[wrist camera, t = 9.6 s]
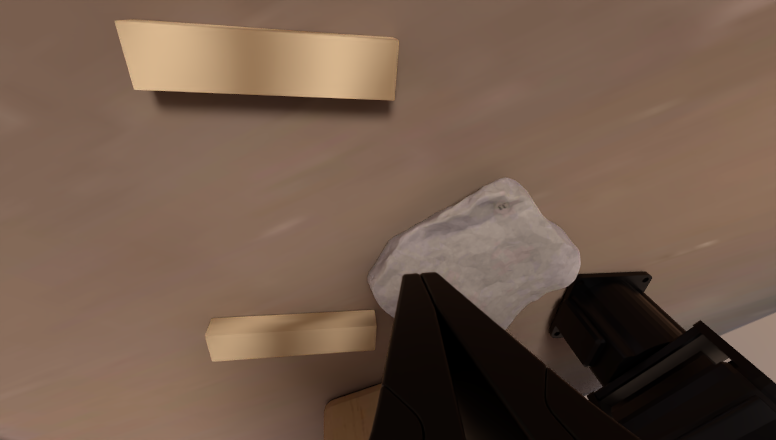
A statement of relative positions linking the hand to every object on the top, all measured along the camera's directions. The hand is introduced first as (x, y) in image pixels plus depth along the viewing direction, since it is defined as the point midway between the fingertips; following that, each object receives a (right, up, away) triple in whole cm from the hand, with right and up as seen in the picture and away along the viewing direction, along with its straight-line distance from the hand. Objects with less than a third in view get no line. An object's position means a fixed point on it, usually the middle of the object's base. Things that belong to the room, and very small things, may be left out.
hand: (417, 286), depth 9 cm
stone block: (+4, 0, +15) cm, 16 cm away
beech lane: (-7, +2, +12) cm, 14 cm away
